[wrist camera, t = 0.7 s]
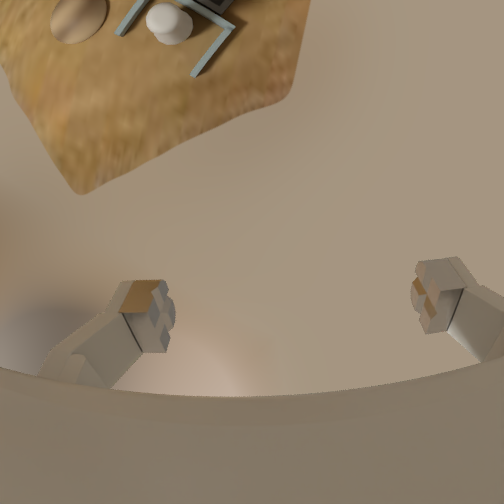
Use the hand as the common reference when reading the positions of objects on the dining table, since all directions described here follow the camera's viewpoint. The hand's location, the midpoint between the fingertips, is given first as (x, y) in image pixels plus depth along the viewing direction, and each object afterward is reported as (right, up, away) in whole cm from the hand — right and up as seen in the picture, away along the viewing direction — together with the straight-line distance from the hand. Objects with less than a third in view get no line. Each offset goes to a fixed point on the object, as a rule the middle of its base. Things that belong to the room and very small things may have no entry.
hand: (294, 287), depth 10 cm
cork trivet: (-29, +38, +23) cm, 53 cm away
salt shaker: (-13, +35, +28) cm, 46 cm away
